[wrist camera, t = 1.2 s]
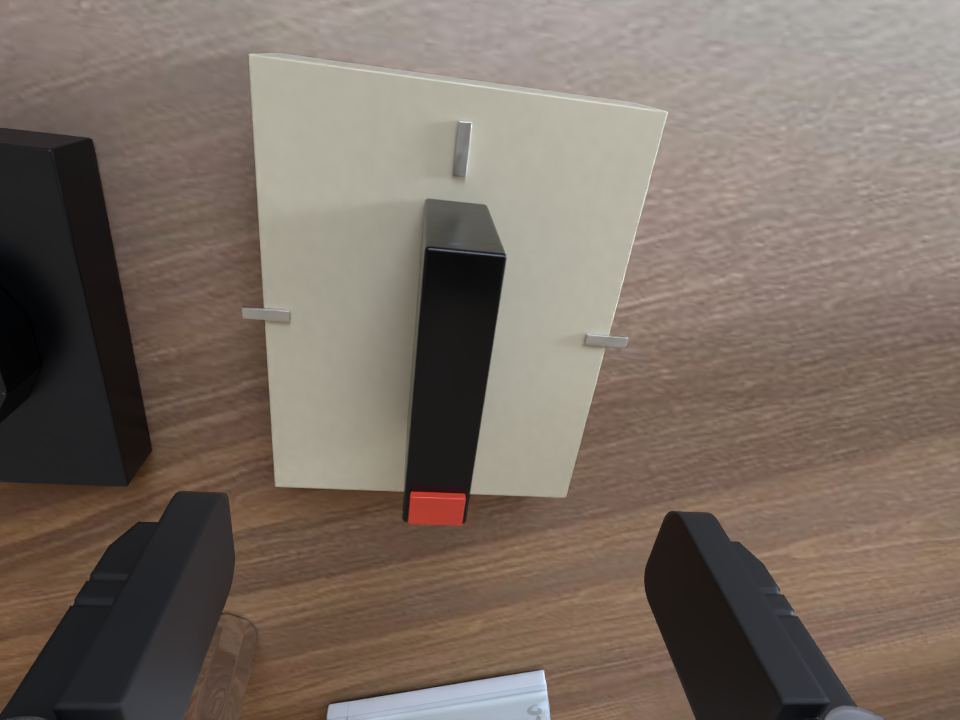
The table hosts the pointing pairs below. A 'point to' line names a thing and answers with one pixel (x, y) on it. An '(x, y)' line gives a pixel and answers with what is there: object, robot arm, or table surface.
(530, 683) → the hard drive
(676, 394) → the table surface
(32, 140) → the button box
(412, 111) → the beige base plate
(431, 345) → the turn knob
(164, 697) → the robot arm
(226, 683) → the milkshake
